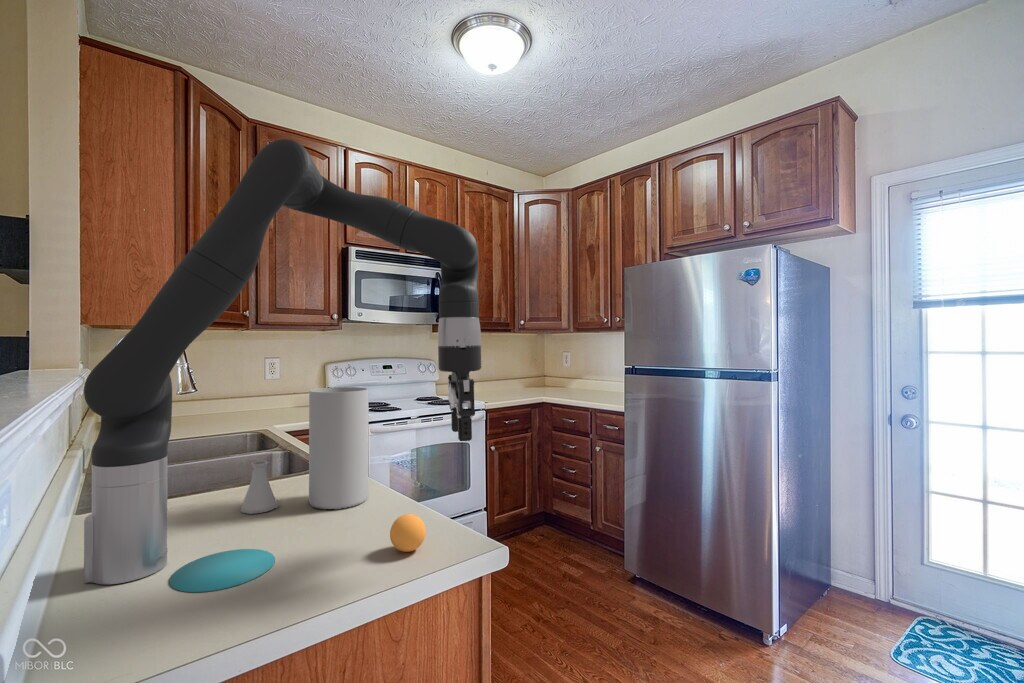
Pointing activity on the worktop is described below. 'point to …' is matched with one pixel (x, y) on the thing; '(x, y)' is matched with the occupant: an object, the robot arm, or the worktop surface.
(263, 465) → the flask
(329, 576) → the worktop surface
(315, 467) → the cylinder vase
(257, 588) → the worktop surface
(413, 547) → the ball
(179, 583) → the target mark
